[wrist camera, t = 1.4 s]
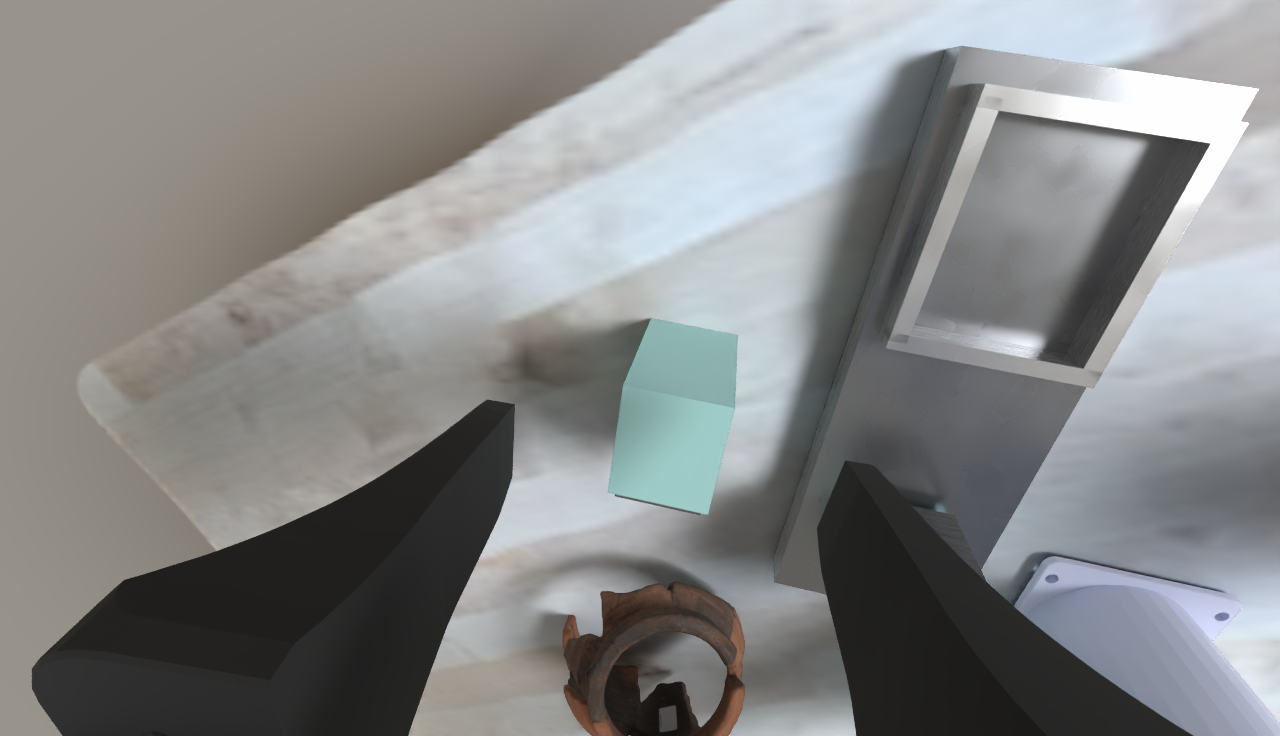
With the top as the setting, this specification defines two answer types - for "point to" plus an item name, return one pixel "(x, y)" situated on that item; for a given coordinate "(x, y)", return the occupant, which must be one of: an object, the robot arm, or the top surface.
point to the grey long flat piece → (1007, 282)
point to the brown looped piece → (612, 691)
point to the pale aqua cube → (675, 417)
